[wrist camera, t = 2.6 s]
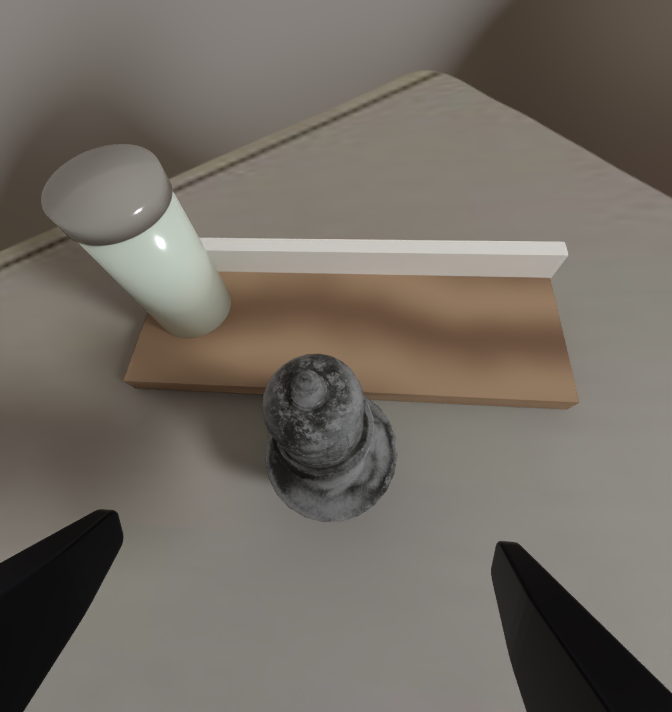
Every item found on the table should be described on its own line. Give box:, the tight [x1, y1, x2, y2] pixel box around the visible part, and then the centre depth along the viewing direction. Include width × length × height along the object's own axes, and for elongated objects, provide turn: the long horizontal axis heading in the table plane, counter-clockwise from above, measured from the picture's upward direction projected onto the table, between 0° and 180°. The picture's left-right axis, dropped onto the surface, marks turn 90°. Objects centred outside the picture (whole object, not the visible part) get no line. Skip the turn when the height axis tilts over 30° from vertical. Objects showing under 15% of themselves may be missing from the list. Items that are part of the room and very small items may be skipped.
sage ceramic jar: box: [41, 144, 231, 338], centre depth 18 cm, size 5×5×9 cm
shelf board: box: [123, 271, 579, 409], centre depth 22 cm, size 9×25×1 cm, turn 86°
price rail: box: [199, 238, 568, 279], centre depth 23 cm, size 1×25×3 cm, turn 86°
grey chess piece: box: [262, 354, 397, 522], centre depth 13 cm, size 6×6×12 cm
